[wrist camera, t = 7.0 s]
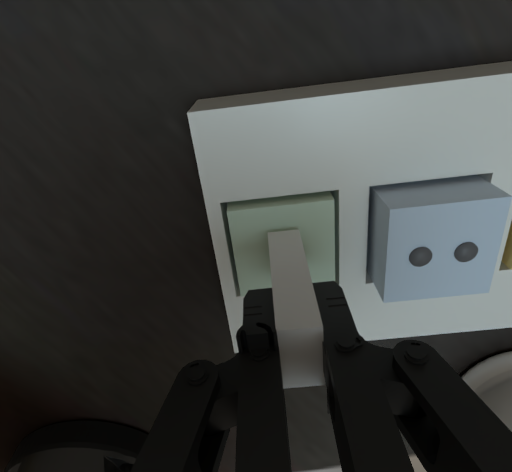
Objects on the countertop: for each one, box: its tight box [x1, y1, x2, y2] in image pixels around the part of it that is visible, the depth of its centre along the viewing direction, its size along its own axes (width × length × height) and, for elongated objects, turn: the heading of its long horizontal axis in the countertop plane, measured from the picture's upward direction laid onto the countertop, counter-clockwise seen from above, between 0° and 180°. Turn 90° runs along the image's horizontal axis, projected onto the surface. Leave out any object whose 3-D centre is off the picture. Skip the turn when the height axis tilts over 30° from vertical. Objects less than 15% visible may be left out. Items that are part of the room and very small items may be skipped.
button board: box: [187, 61, 512, 353], centre depth 20 cm, size 21×14×4 cm, turn 97°
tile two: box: [366, 174, 512, 303], centre depth 18 cm, size 5×5×3 cm
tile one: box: [227, 191, 335, 297], centre depth 19 cm, size 5×5×3 cm
